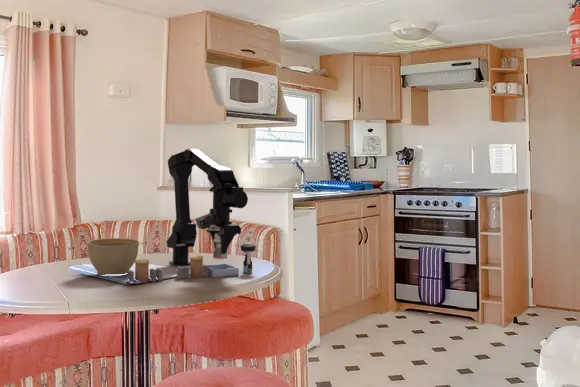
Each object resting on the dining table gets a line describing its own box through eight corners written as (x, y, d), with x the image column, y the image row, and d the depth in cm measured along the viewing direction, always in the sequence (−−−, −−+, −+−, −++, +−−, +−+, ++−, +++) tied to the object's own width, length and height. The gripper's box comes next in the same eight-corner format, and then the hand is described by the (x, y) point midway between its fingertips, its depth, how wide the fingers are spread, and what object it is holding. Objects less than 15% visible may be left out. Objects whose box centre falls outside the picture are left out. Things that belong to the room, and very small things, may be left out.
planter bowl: (75, 276, 182) (75, 242, 181) (109, 268, 197) (110, 237, 196) (116, 281, 176) (117, 246, 175) (148, 273, 191) (149, 240, 190)
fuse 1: (133, 280, 178) (133, 259, 177) (146, 279, 180) (146, 258, 180) (137, 283, 174) (137, 261, 174) (150, 282, 177) (150, 260, 176)
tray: (201, 272, 194) (201, 265, 194) (226, 270, 199) (226, 263, 199) (213, 277, 186) (213, 270, 186) (238, 275, 191) (238, 267, 191)
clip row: (127, 281, 176) (127, 270, 176) (205, 275, 190) (205, 264, 190) (130, 283, 174) (130, 272, 174) (209, 276, 188) (209, 266, 187)
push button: (257, 274, 194) (258, 244, 194) (241, 274, 193) (242, 244, 192) (253, 270, 201) (254, 241, 200) (238, 270, 199) (239, 242, 199)
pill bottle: (213, 257, 194) (213, 232, 194) (227, 257, 195) (228, 232, 194) (212, 259, 190) (213, 234, 189) (227, 259, 190) (227, 234, 190)
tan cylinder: (187, 276, 187) (188, 256, 187) (199, 275, 190) (200, 255, 189) (192, 278, 184) (193, 258, 184) (204, 277, 186) (205, 257, 186)
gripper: (187, 204, 195) (186, 249, 196) (210, 208, 179) (209, 258, 180) (217, 203, 201) (216, 247, 202) (242, 208, 185) (241, 256, 186)
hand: (220, 252), depth 192 cm, fingers closed on pill bottle, 5 cm apart
